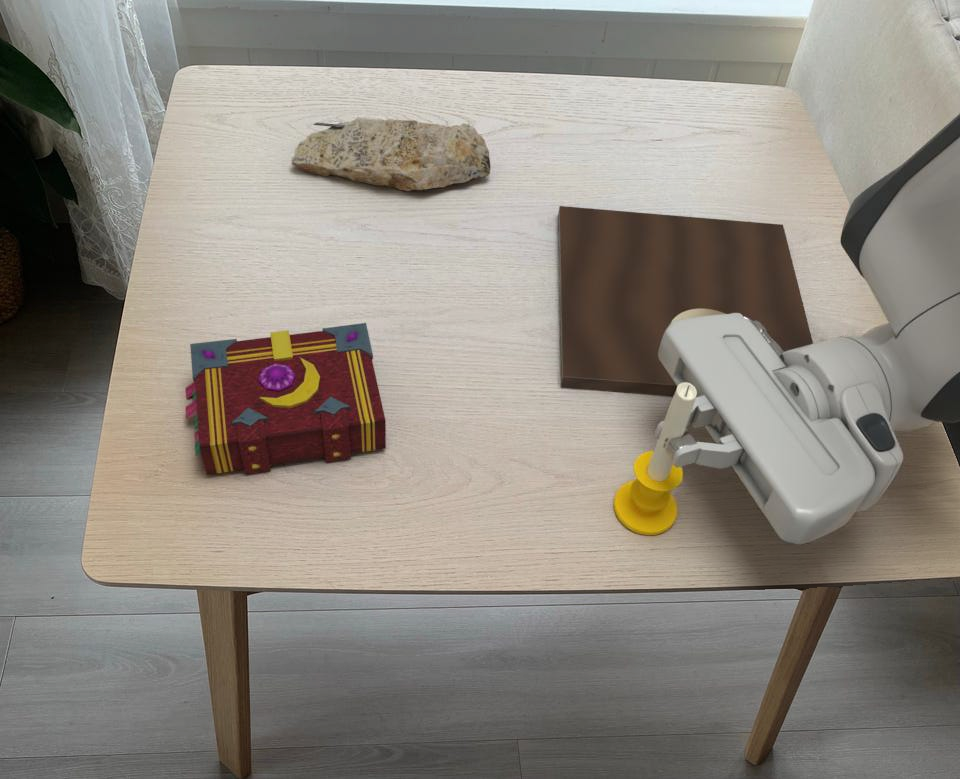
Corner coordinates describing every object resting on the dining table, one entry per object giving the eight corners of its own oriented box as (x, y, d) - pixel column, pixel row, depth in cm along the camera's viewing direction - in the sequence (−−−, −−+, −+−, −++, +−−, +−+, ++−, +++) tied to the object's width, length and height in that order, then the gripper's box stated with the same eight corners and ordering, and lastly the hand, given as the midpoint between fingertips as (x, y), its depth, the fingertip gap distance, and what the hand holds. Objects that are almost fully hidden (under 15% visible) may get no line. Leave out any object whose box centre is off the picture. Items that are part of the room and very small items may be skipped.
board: (778, 235, 102) (783, 222, 101) (821, 407, 87) (827, 396, 86) (557, 216, 102) (559, 204, 100) (560, 387, 86) (563, 375, 85)
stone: (498, 119, 104) (479, 142, 96) (495, 178, 107) (477, 204, 99) (317, 104, 108) (283, 124, 99) (320, 161, 111) (287, 185, 102)
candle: (685, 529, 77) (738, 407, 65) (626, 540, 76) (668, 419, 64) (662, 478, 80) (708, 353, 69) (604, 488, 79) (641, 363, 68)
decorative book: (388, 454, 80) (388, 417, 76) (191, 484, 77) (180, 447, 73) (366, 355, 87) (365, 317, 83) (184, 379, 84) (175, 340, 80)
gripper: (759, 283, 78) (610, 319, 74) (918, 476, 66) (750, 533, 62) (738, 336, 83) (597, 373, 79) (883, 525, 71) (725, 580, 67)
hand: (665, 445), depth 70 cm, fingers closed on candle
